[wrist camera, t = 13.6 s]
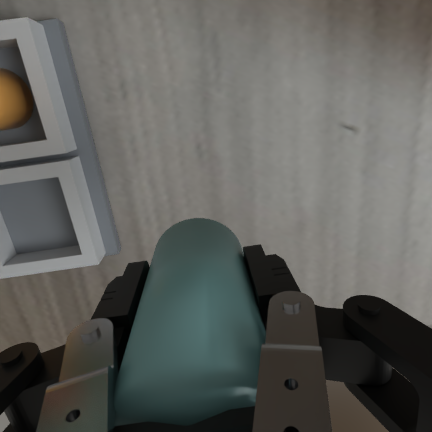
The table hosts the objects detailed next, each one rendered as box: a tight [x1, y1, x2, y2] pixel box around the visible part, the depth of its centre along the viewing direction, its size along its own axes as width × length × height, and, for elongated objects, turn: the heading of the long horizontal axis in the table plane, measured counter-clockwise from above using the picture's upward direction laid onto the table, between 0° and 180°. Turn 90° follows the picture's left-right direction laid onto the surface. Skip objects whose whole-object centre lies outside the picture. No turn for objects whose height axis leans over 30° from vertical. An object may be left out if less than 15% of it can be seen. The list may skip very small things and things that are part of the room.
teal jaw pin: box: [113, 218, 266, 426], centre depth 11 cm, size 4×4×8 cm
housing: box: [0, 17, 121, 279], centre depth 23 cm, size 17×10×3 cm, turn 8°
